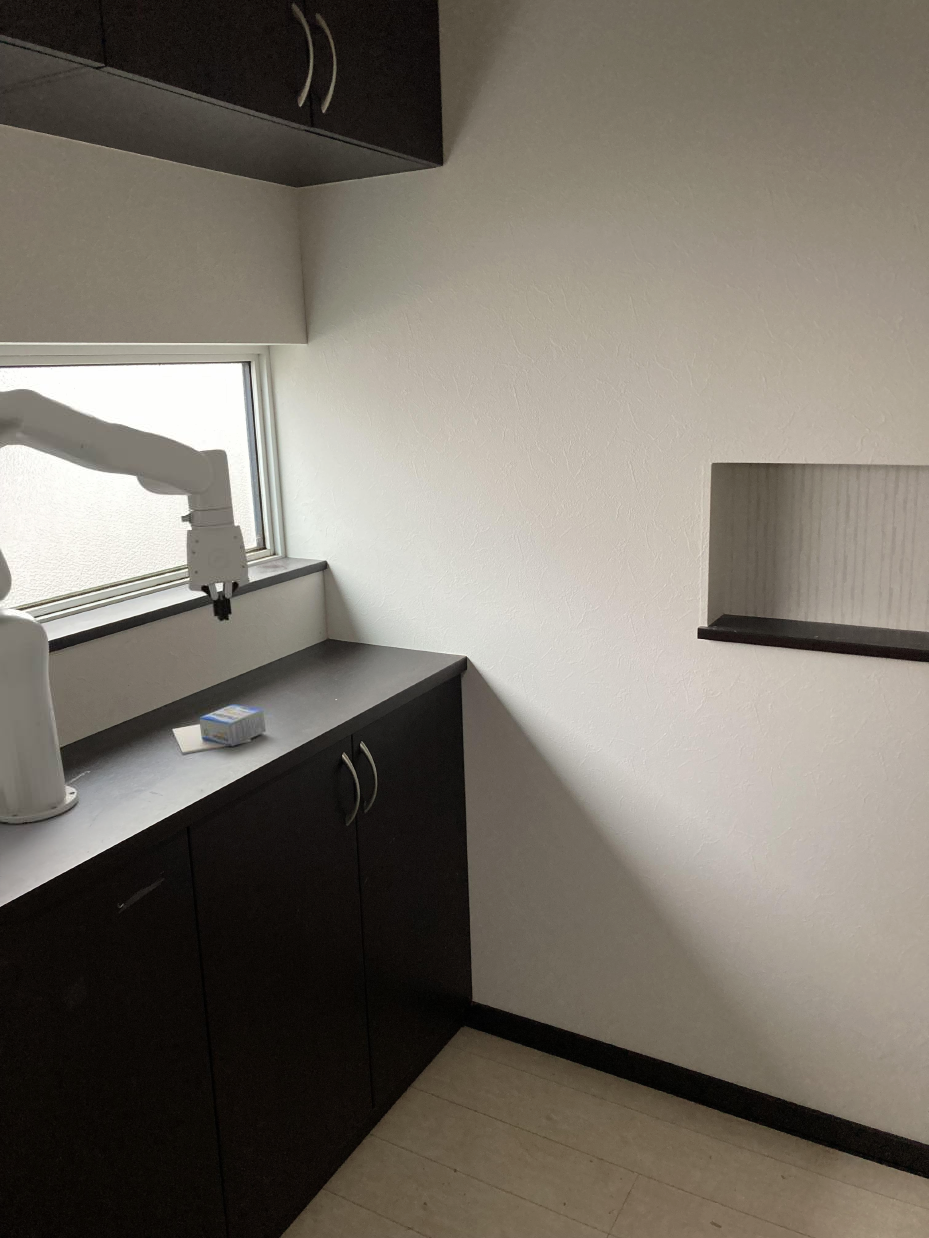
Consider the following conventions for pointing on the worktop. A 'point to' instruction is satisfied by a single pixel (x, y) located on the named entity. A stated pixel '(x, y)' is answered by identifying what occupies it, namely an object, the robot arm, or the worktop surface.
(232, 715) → the medicine box
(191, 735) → the mat
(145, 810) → the worktop surface
